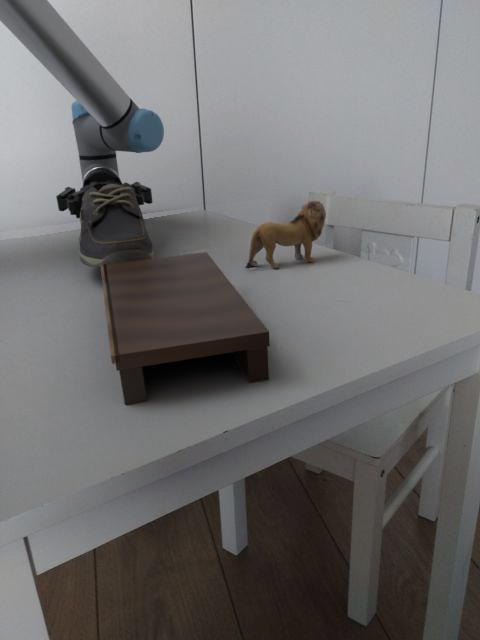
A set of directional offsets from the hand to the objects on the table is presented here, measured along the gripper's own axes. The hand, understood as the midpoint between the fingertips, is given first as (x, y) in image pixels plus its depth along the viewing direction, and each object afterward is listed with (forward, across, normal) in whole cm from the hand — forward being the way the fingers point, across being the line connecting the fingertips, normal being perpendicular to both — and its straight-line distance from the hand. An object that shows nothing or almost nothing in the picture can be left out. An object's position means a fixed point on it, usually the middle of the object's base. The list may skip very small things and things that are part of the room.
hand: (107, 207), depth 92 cm
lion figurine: (+13, -26, -9) cm, 31 cm away
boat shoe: (+4, 0, -7) cm, 8 cm away
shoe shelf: (+35, -5, -9) cm, 37 cm away
